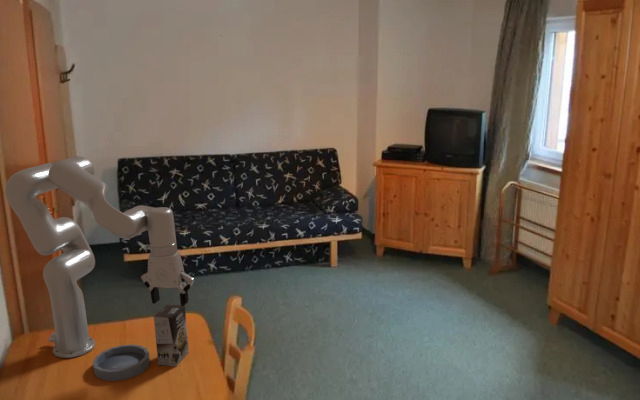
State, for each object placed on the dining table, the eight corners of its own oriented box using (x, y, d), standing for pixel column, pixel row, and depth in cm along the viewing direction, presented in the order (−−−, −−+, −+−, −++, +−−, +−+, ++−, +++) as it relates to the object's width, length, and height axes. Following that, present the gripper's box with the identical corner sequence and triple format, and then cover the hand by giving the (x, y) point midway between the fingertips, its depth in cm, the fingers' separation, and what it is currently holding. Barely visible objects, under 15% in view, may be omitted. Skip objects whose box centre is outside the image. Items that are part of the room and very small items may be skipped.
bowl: (83, 376, 167) (81, 367, 166) (115, 350, 182) (114, 342, 181) (129, 383, 163) (128, 374, 162) (159, 356, 177) (158, 347, 177)
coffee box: (177, 366, 171) (172, 317, 167) (157, 365, 172) (152, 316, 168) (189, 351, 180) (185, 304, 176) (171, 350, 181) (166, 303, 177)
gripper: (131, 252, 166) (138, 306, 170) (183, 255, 161) (190, 310, 166) (145, 244, 173) (151, 296, 177) (196, 246, 168) (201, 300, 173)
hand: (170, 303), depth 171 cm, fingers open, 9 cm apart
